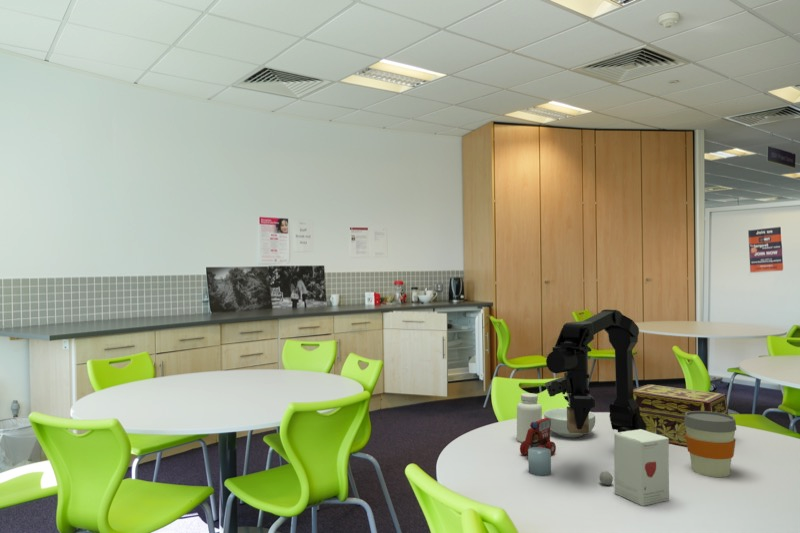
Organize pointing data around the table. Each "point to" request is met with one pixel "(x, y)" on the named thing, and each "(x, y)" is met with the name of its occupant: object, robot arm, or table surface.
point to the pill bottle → (527, 414)
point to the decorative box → (674, 409)
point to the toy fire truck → (538, 437)
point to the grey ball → (606, 478)
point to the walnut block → (572, 423)
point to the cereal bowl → (564, 421)
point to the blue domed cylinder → (539, 461)
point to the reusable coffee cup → (710, 442)
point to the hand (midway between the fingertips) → (577, 426)
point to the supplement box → (641, 466)
